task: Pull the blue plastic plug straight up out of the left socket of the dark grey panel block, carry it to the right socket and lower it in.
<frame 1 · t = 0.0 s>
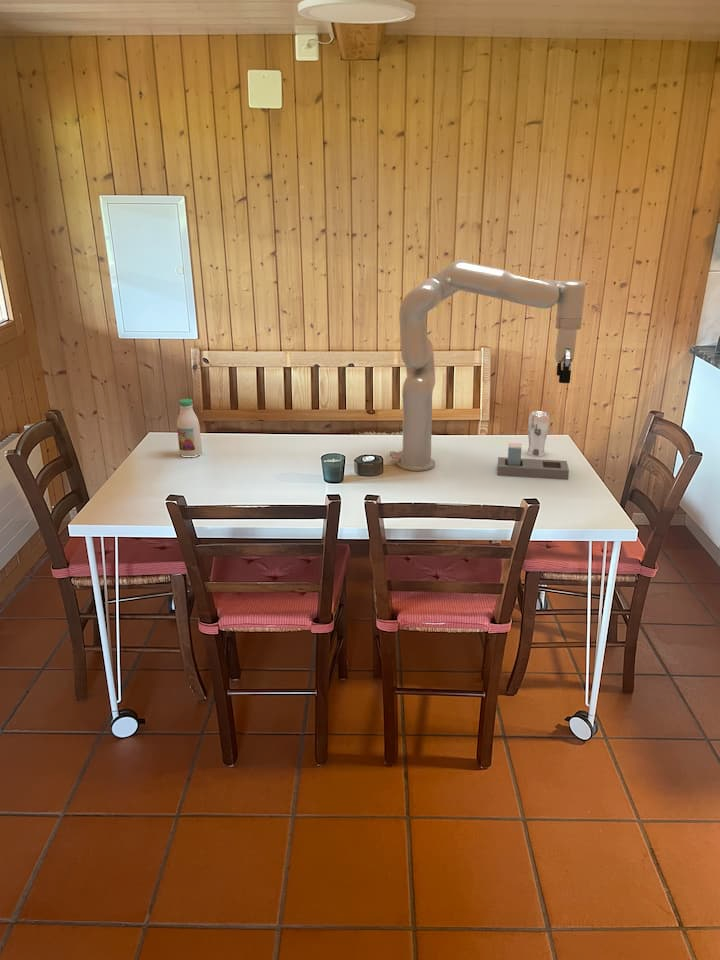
hand: (562, 379, 216), 31 cm above the table, fingers open, 9 cm apart
beer glass: (535, 455, 244), on the table
plug: (513, 471, 227), resting on panel
panel: (531, 473, 226), on the table
milk bottle: (191, 455, 247), on the table
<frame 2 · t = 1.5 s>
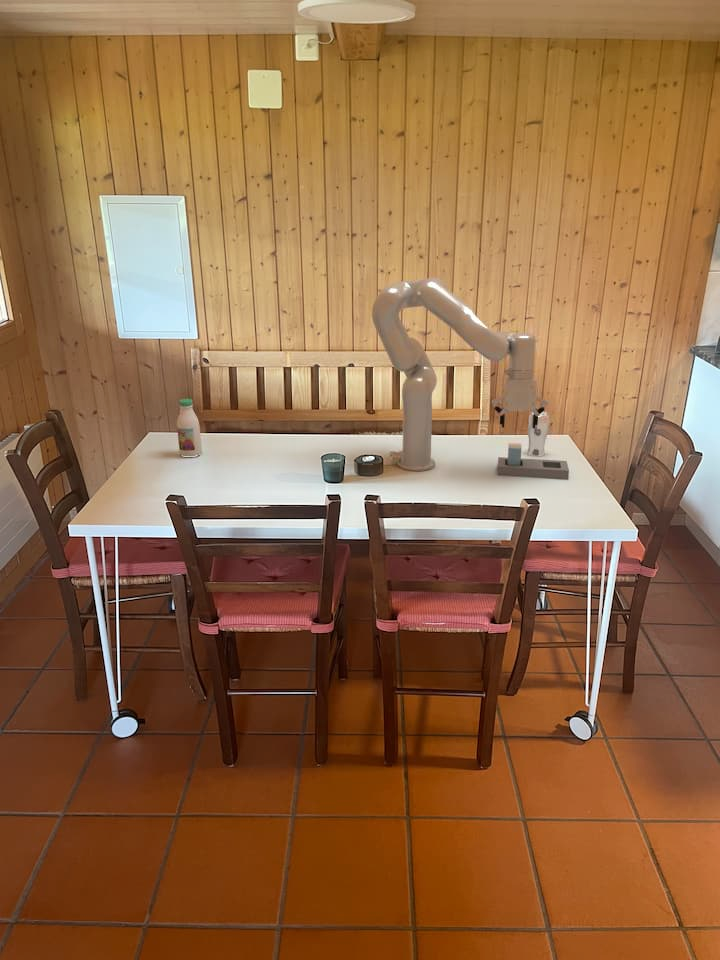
hand: (518, 426, 222), 16 cm above the table, fingers open, 9 cm apart
nothing on the table moved.
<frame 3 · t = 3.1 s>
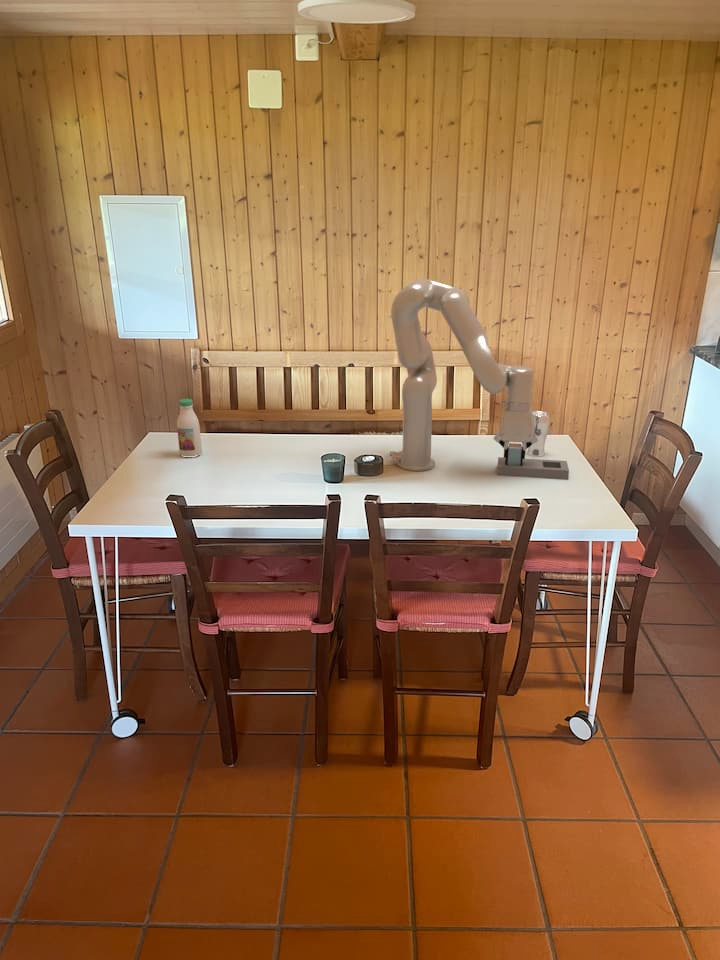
hand: (514, 459, 226), 5 cm above the table, fingers closed on plug, 4 cm apart
plug: (513, 471, 227), resting on panel, touching gripper
everything else where it was.
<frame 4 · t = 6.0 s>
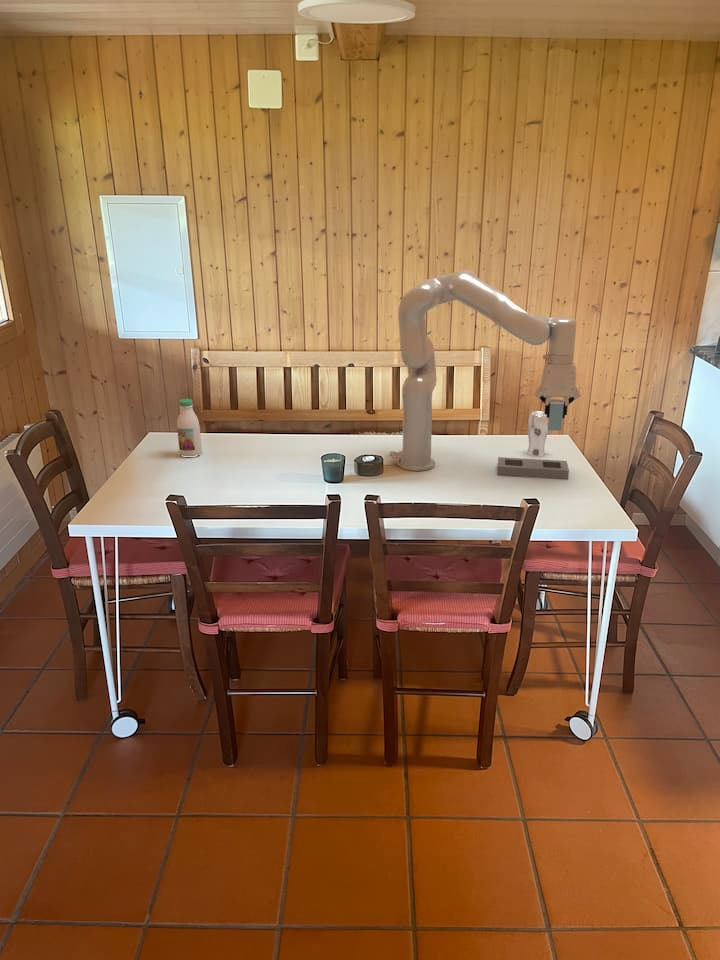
hand: (555, 416, 218), 20 cm above the table, fingers closed on plug, 4 cm apart
plug: (554, 428, 220), point 16 cm above the table, touching gripper
everything else where it was.
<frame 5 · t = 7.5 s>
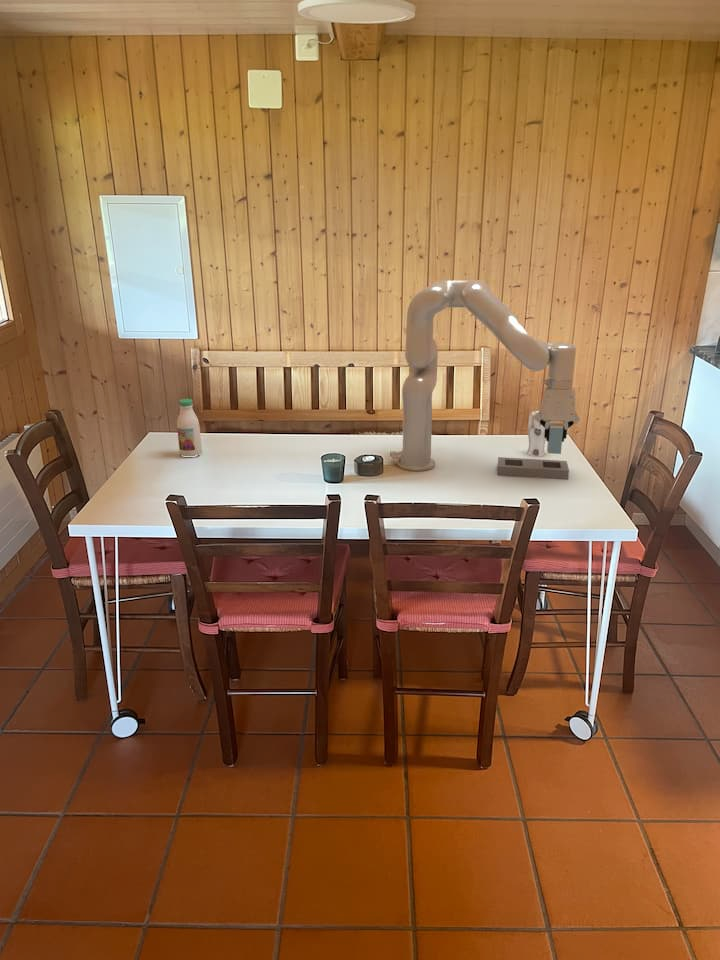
hand: (554, 439, 221), 12 cm above the table, fingers closed on plug, 4 cm apart
plug: (553, 451, 222), point 8 cm above the table, touching gripper
everything else where it was.
when the fingers open (5 cm above the table, at t = 9.0 s): plug stays where it is, resting on panel.
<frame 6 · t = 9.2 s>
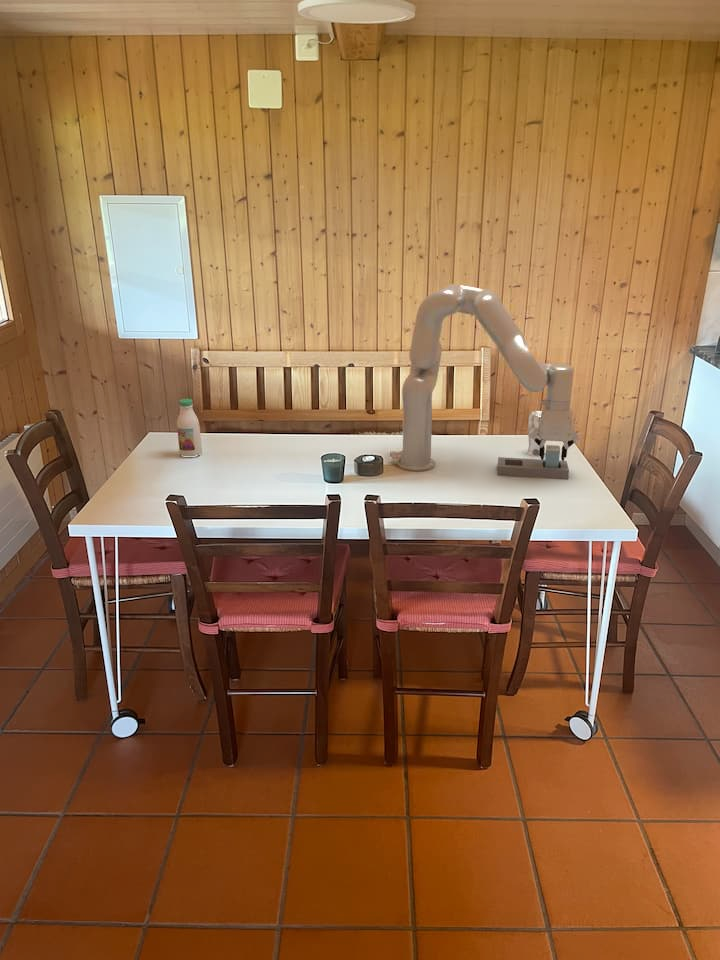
hand: (552, 458, 223), 6 cm above the table, fingers open, 5 cm apart
plug: (550, 473, 225), resting on panel
everything else where it was.
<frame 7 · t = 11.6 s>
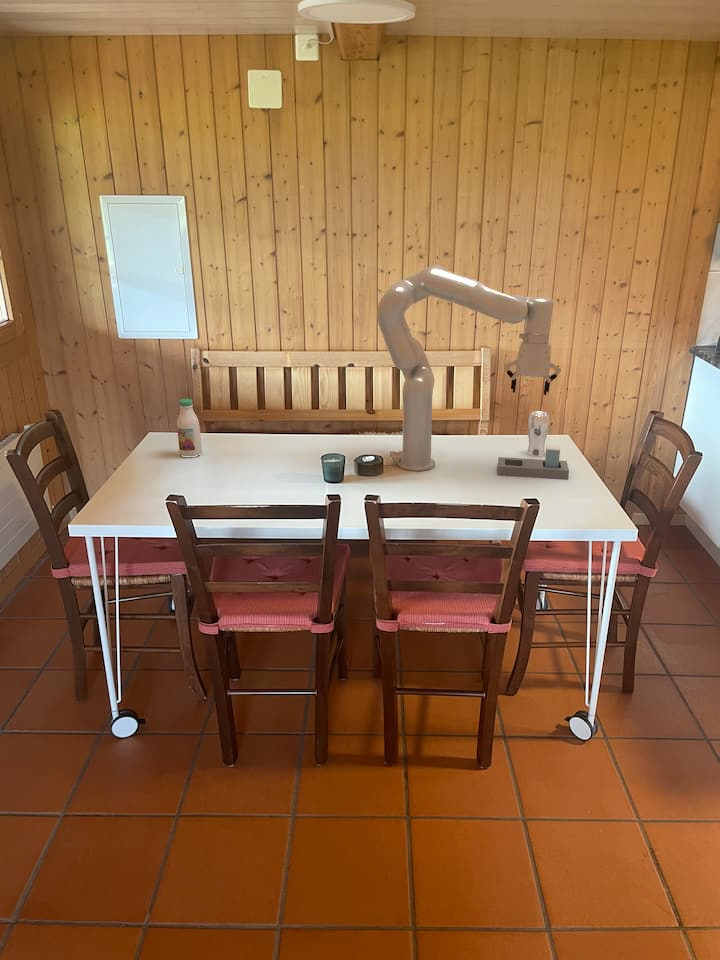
hand: (529, 392, 220), 26 cm above the table, fingers open, 9 cm apart
nothing on the table moved.
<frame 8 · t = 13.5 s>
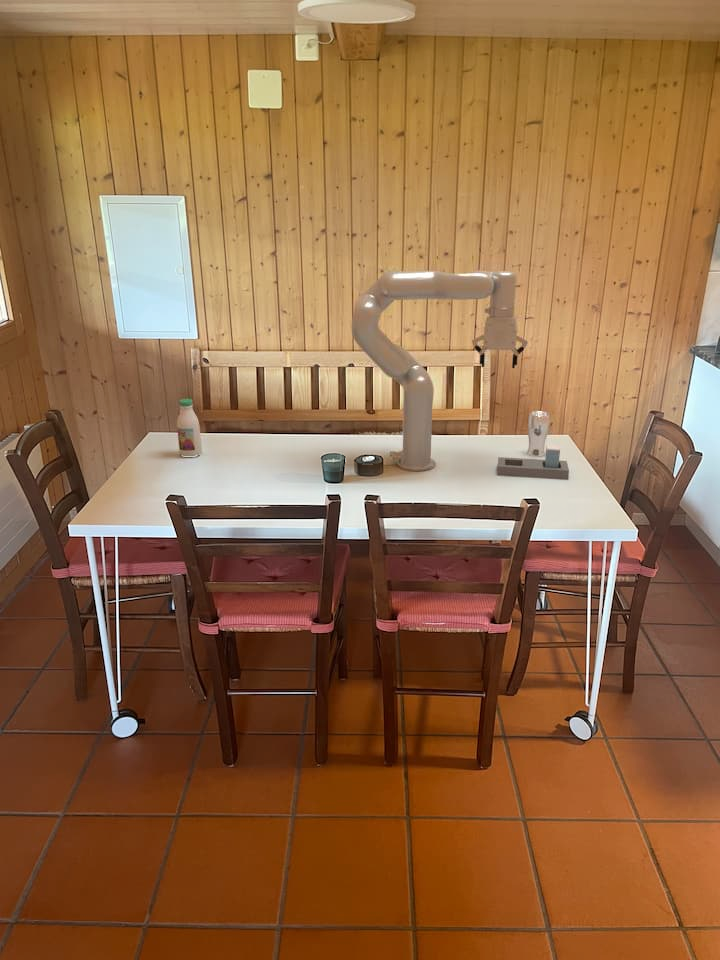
hand: (498, 366, 223), 33 cm above the table, fingers open, 9 cm apart
nothing on the table moved.
at the end: plug 0.1 cm from the target spot on the panel, point 0.5 cm above the panel's base; plug tilted 0°; the gripper is holding nothing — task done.
